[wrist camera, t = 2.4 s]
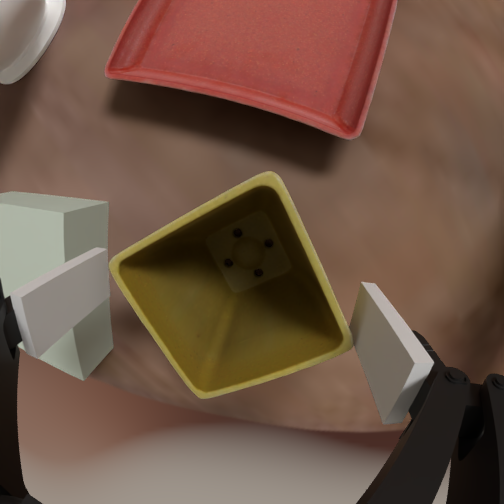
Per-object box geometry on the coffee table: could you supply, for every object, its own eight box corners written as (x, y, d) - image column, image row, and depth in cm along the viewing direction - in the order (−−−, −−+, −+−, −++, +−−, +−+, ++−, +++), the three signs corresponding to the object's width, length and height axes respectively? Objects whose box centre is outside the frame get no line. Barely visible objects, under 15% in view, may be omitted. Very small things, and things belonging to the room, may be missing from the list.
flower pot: (330, 280, 21) (358, 350, 12) (227, 324, 22) (198, 403, 14) (278, 169, 19) (274, 166, 10) (171, 226, 21) (103, 262, 12)
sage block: (111, 201, 21) (63, 212, 15) (115, 345, 25) (84, 381, 19) (14, 190, 22) (-27, 199, 16) (25, 308, 26) (-7, 330, 20)
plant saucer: (203, -61, 13) (194, -80, 10) (394, -19, 13) (406, -37, 10) (121, 87, 18) (99, 78, 15) (345, 150, 18) (358, 145, 15)
